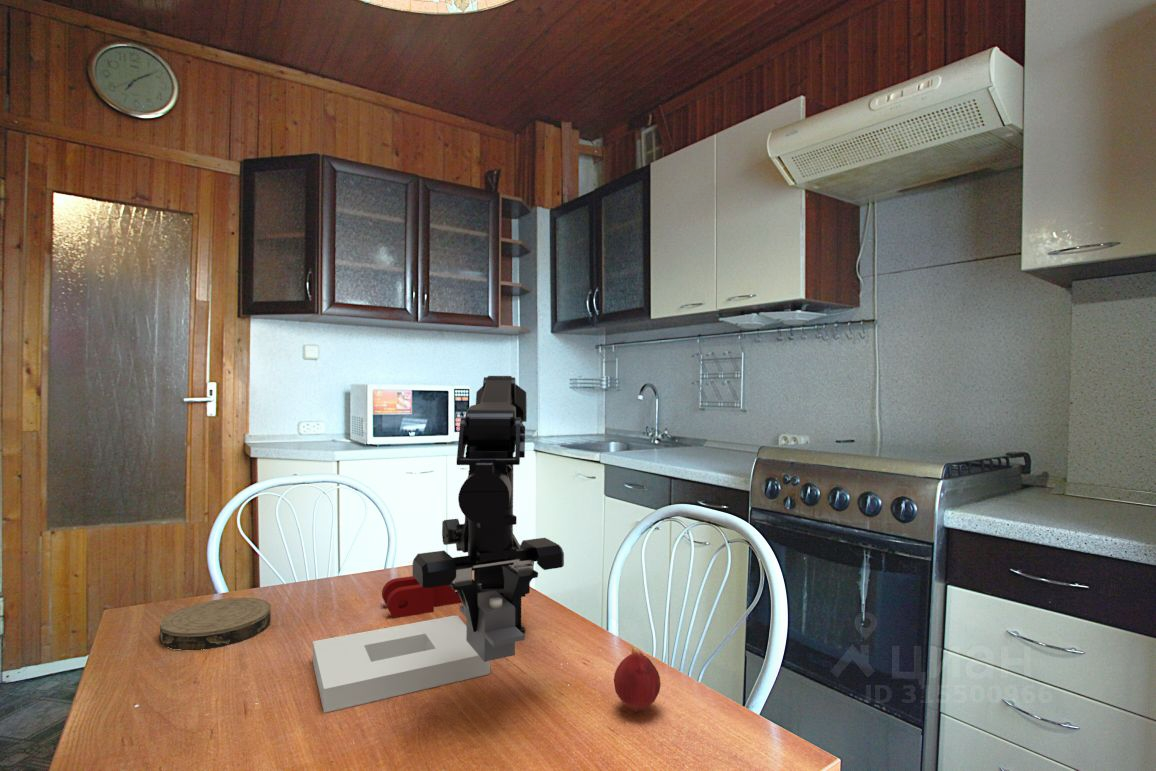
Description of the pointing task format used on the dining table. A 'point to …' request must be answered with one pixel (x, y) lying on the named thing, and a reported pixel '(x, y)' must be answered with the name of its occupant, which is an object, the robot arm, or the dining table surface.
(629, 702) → the onion
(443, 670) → the frame
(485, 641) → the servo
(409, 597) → the mechanical linkage
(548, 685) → the dining table surface
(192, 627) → the wood slice
